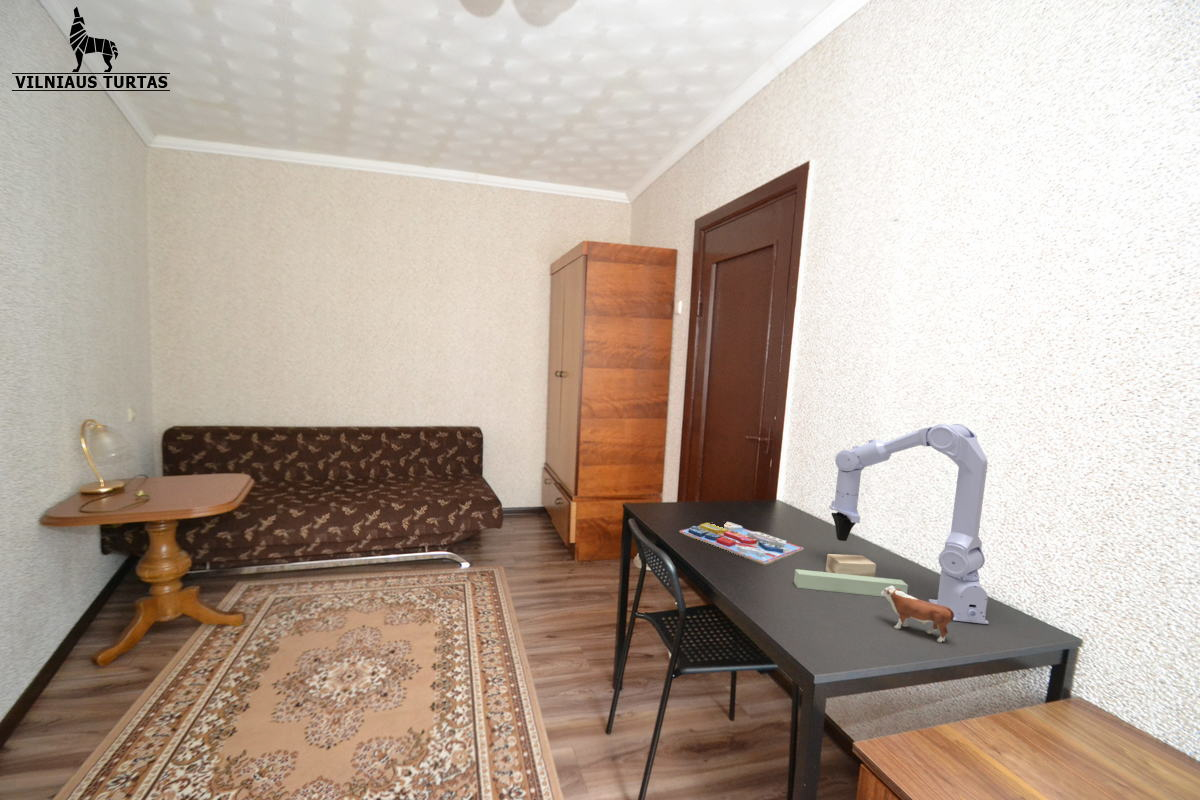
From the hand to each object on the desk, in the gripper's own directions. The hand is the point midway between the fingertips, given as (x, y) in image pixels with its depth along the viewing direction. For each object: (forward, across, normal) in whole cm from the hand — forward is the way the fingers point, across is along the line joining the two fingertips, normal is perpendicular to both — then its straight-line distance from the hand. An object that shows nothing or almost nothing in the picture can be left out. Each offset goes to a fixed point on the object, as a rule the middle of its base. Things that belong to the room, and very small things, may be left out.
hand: (841, 539), depth 139 cm
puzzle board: (+8, -13, -25) cm, 29 cm away
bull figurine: (+8, +34, +2) cm, 35 cm away
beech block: (+8, +7, 0) cm, 10 cm away
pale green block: (+7, +17, -4) cm, 19 cm away
